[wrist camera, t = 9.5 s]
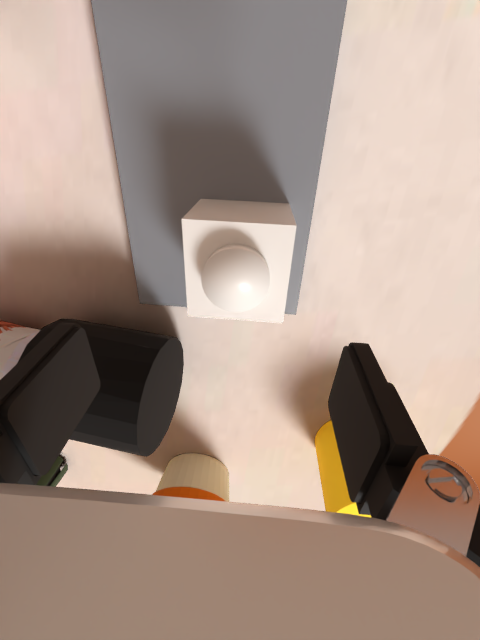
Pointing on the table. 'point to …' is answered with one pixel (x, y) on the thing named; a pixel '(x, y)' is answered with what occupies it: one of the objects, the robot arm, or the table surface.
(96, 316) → the table surface
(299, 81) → the plate
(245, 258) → the white push button box
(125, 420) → the black and white bottle
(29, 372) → the robot arm
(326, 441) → the yellow toilet paper roll
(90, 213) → the table surface
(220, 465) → the reusable coffee cup
